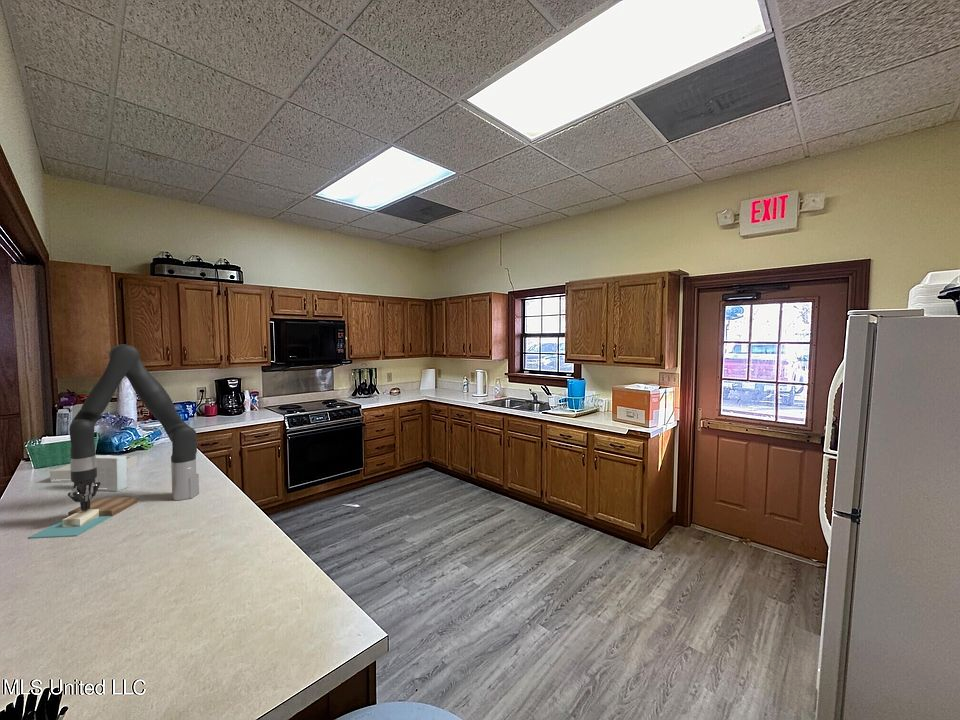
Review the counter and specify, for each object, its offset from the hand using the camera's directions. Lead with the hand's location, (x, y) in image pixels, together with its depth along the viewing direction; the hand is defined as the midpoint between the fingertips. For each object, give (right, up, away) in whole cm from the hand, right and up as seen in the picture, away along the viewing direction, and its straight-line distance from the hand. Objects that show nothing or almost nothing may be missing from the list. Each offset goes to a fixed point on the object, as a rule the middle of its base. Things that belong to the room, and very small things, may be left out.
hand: (85, 509), depth 161 cm
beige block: (+1, -4, -2) cm, 5 cm away
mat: (+1, -4, -6) cm, 8 cm away
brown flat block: (-1, -4, +9) cm, 10 cm away
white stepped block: (-47, -1, +54) cm, 71 cm away
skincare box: (-24, -2, +33) cm, 41 cm away
